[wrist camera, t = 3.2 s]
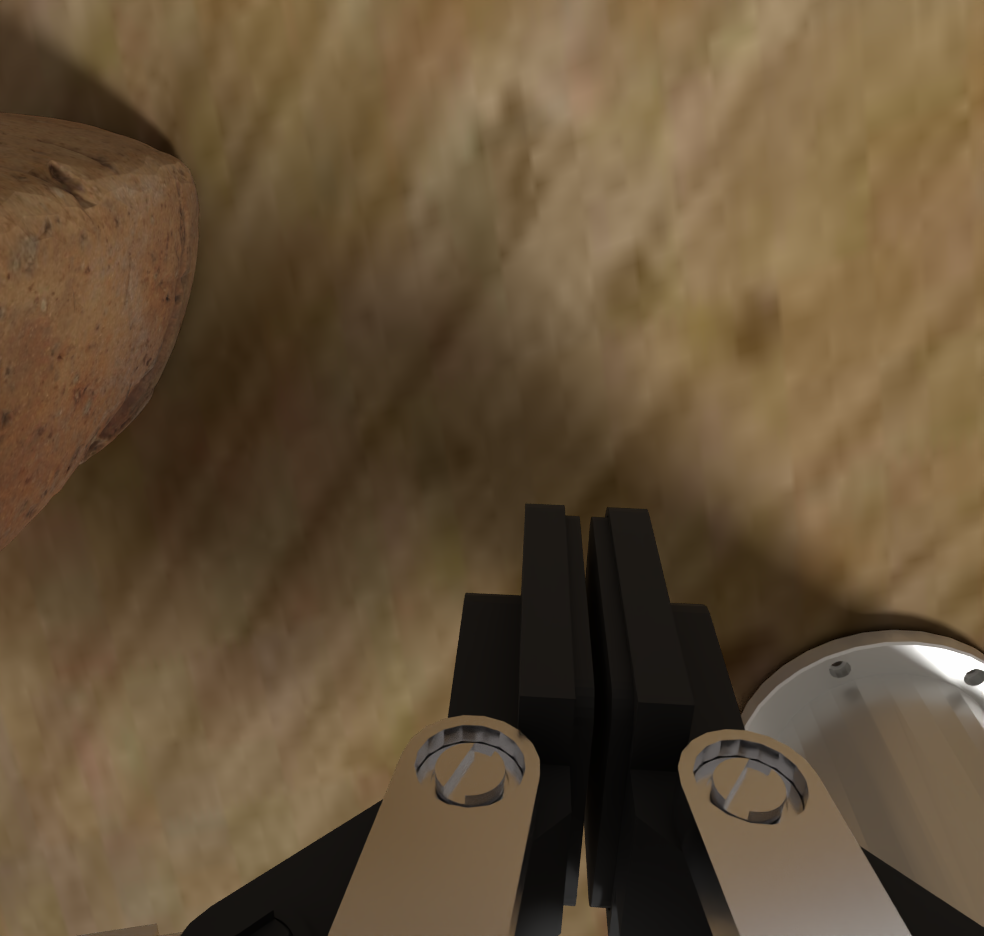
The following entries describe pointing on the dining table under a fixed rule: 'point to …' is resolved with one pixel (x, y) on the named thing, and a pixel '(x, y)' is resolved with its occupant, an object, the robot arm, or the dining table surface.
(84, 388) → the block
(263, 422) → the dining table surface
